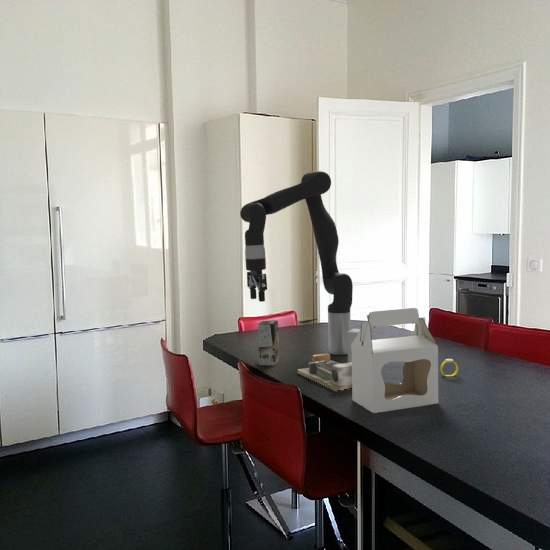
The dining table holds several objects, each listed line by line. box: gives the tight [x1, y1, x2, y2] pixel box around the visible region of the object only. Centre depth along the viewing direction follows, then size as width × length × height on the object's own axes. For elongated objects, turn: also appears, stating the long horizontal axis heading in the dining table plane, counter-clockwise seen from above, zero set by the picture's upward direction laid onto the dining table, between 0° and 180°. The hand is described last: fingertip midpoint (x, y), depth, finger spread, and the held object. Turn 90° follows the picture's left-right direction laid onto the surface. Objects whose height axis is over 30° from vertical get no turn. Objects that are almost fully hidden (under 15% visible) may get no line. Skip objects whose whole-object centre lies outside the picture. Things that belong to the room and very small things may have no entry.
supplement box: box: [347, 328, 361, 363], centre depth 221 cm, size 7×7×13 cm
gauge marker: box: [308, 362, 316, 374], centre depth 200 cm, size 2×1×4 cm, turn 114°
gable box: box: [351, 307, 439, 414], centre depth 171 cm, size 22×13×28 cm, turn 109°
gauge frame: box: [297, 360, 352, 392], centre depth 199 cm, size 15×26×8 cm, turn 24°
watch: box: [439, 358, 459, 378], centre depth 198 cm, size 6×3×6 cm, turn 94°
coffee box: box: [257, 320, 280, 367], centre depth 225 cm, size 9×6×16 cm
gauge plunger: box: [307, 352, 337, 371], centre depth 204 cm, size 10×6×5 cm, turn 114°
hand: (257, 300), depth 216 cm, fingers open, 8 cm apart
